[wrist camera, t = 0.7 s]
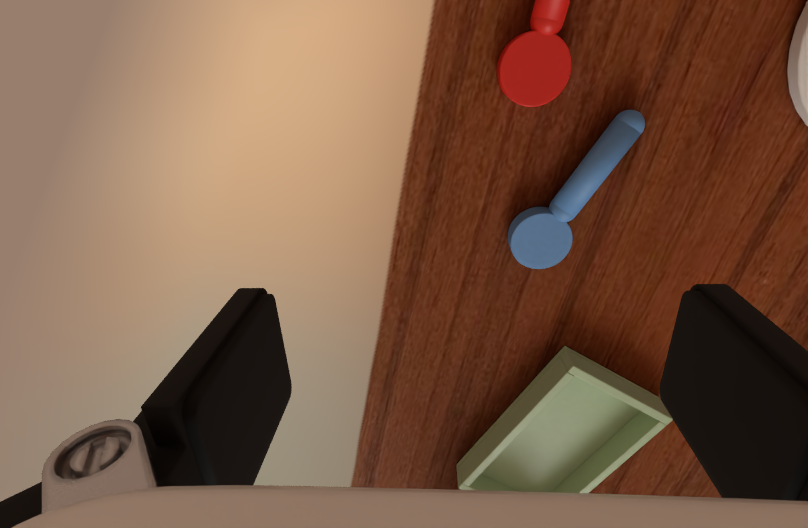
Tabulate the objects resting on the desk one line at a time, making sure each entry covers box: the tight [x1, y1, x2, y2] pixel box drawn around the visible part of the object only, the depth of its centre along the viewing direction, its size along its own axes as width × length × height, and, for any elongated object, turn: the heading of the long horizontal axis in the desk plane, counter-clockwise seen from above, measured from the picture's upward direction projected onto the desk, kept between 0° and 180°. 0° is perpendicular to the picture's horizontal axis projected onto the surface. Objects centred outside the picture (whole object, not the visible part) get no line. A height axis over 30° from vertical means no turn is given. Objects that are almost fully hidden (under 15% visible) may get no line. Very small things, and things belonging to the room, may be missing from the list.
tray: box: [457, 346, 673, 493], centre depth 38 cm, size 15×9×2 cm, turn 150°
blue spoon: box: [508, 110, 645, 269], centre depth 29 cm, size 11×4×2 cm, turn 150°
